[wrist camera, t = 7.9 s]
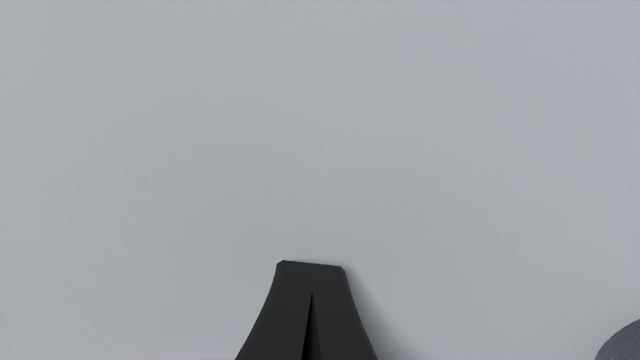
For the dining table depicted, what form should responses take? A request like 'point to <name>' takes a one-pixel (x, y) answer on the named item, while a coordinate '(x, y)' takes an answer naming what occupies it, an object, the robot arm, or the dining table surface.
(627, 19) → the dining table surface
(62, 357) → the dining table surface
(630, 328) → the grey canister
